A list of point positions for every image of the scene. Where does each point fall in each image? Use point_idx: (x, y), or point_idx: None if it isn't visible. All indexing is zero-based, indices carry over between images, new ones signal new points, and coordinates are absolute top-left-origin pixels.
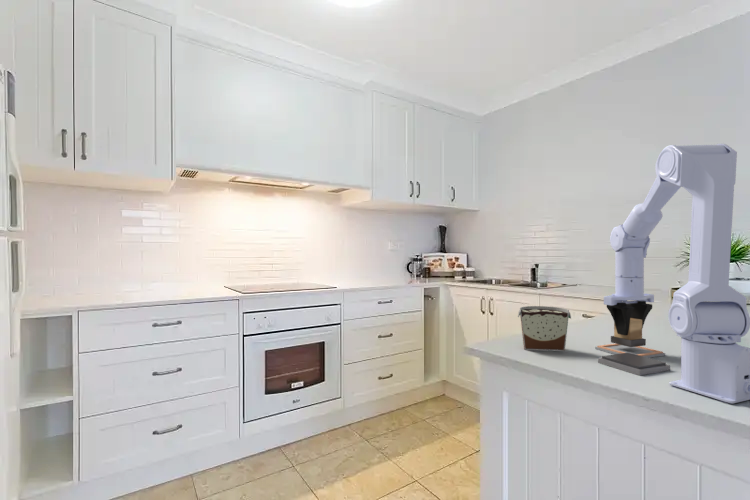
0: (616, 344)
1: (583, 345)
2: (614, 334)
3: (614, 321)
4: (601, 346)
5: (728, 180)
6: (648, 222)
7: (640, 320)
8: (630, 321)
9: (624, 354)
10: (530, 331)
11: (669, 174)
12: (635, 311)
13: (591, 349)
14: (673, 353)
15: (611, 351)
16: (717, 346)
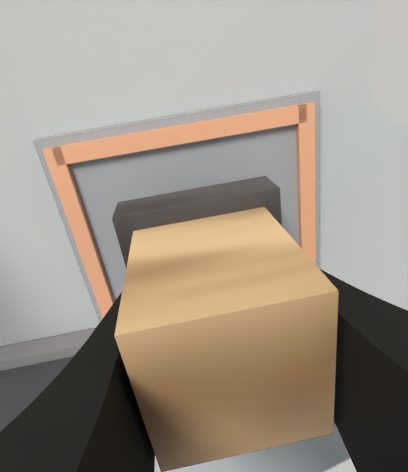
0: (216, 137)
1: (4, 14)
2: (131, 241)
3: (73, 362)
4: (62, 171)
5: None
6: None
7: (305, 434)
8: (165, 463)
9: (34, 388)
10: None
11: None
12: (396, 465)
13: (3, 141)
14: (386, 286)
15: (74, 250)
16: None
